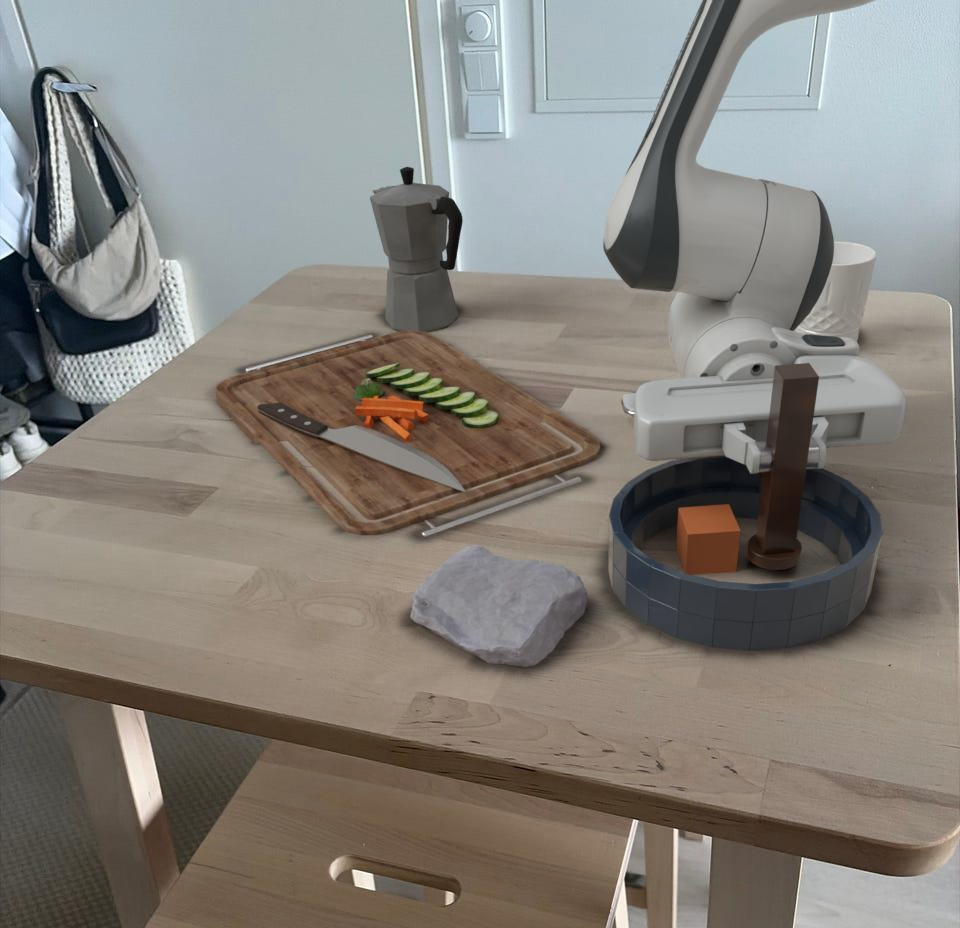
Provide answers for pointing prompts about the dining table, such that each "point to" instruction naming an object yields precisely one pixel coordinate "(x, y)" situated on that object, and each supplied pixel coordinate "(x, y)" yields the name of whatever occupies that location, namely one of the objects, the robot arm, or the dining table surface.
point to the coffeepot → (418, 252)
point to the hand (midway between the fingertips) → (789, 462)
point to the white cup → (842, 293)
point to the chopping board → (401, 429)
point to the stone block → (500, 605)
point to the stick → (785, 467)
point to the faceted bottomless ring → (741, 606)
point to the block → (707, 539)
